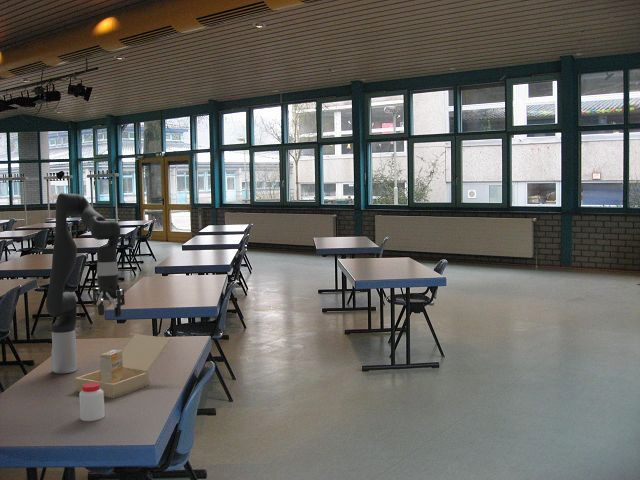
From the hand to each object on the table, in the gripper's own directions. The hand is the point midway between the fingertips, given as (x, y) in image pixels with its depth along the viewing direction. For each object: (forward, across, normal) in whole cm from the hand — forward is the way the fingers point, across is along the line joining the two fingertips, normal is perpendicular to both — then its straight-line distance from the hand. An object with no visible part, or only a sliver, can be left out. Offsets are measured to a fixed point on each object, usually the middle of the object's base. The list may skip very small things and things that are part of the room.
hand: (109, 315), depth 255 cm
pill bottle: (+28, -19, +27) cm, 43 cm away
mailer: (+28, 0, 0) cm, 28 cm away
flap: (+17, 0, -16) cm, 23 cm away
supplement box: (+27, 0, 0) cm, 27 cm away
